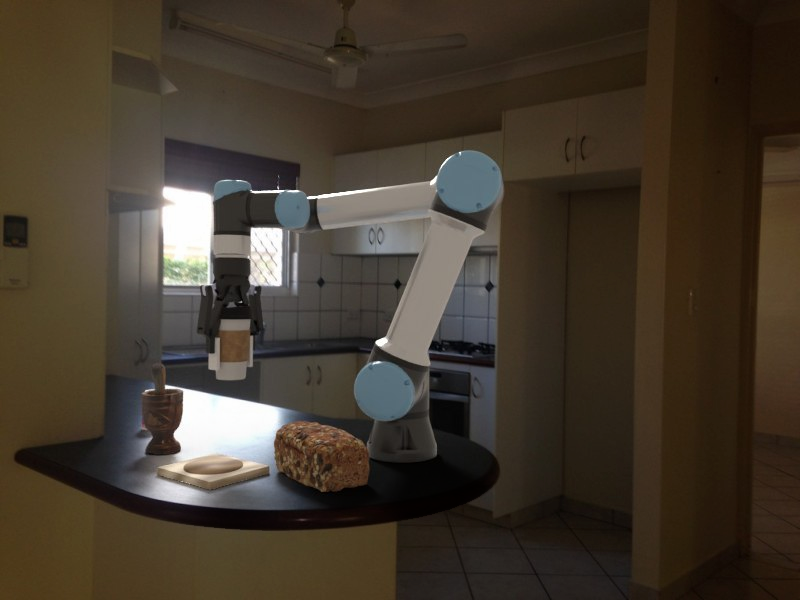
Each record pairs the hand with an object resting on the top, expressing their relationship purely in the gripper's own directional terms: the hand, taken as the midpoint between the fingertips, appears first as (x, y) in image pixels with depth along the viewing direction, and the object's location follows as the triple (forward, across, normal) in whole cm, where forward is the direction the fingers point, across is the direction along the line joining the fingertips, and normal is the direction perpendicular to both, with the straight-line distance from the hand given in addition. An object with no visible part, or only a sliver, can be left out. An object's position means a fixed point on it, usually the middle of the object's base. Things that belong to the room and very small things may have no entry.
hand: (231, 367), depth 142 cm
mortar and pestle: (+20, +5, -16) cm, 26 cm away
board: (+19, +8, +6) cm, 22 cm away
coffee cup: (+2, 0, 0) cm, 2 cm away
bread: (+20, -4, +23) cm, 30 cm away
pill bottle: (+20, -7, -41) cm, 46 cm away
